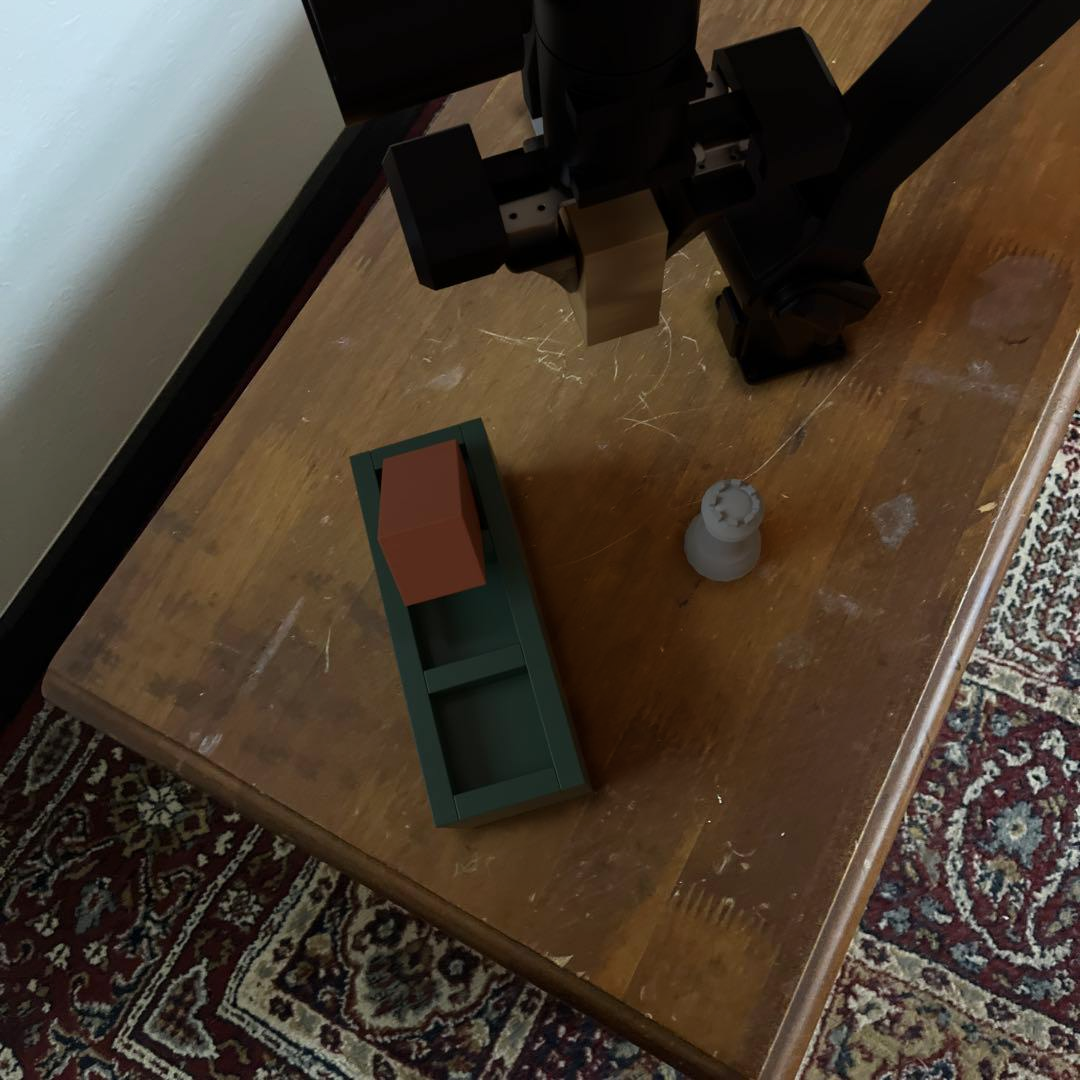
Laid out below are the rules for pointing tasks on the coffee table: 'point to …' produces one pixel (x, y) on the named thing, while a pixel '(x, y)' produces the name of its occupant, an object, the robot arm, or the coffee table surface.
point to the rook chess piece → (726, 531)
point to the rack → (478, 661)
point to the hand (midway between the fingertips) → (611, 272)
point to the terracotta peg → (430, 523)
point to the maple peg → (617, 265)
